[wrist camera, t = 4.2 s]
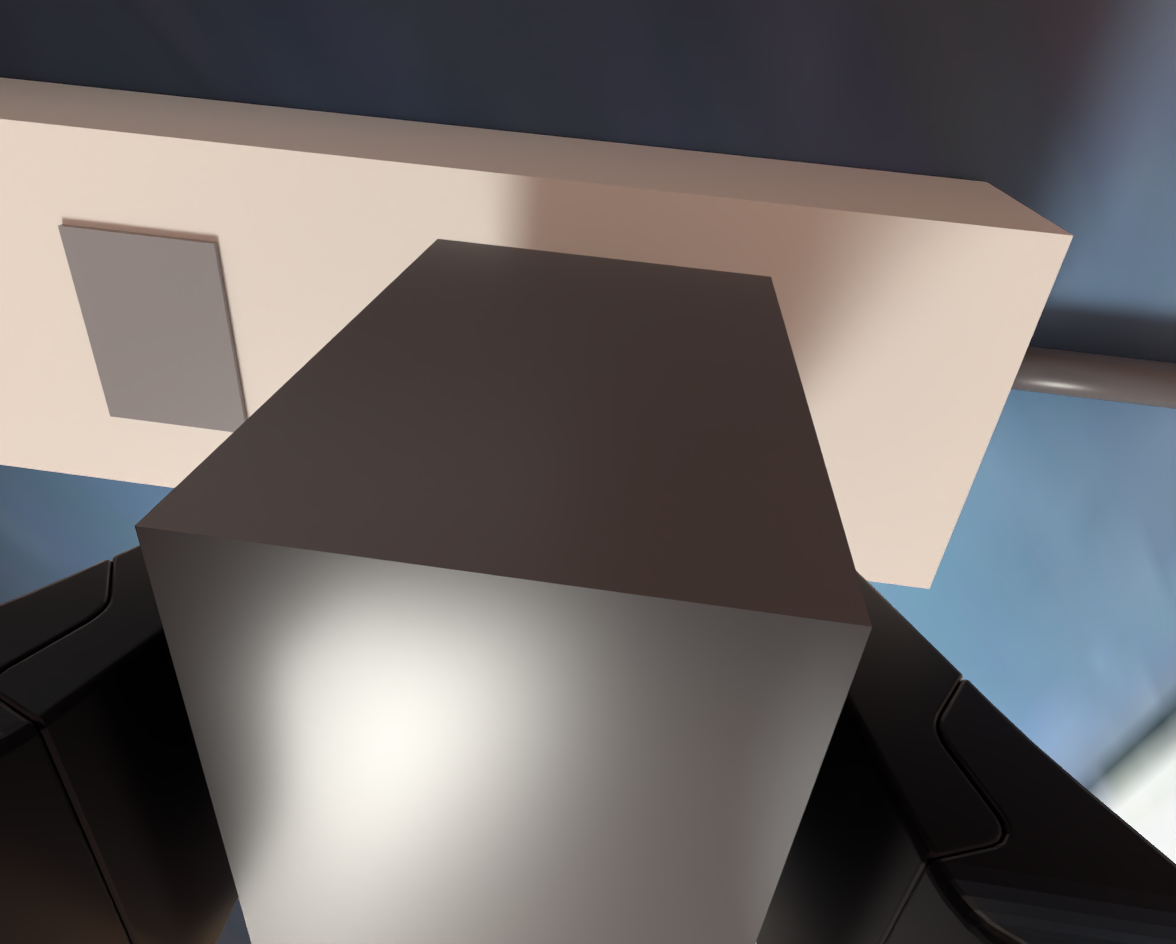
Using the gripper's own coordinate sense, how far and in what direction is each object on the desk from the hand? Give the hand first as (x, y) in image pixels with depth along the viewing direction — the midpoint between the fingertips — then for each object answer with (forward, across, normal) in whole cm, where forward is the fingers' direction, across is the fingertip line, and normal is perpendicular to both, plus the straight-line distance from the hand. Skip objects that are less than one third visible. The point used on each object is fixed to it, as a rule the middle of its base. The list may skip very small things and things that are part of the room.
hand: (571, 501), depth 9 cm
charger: (+3, 0, 0) cm, 3 cm away
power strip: (+7, +1, 0) cm, 7 cm away
